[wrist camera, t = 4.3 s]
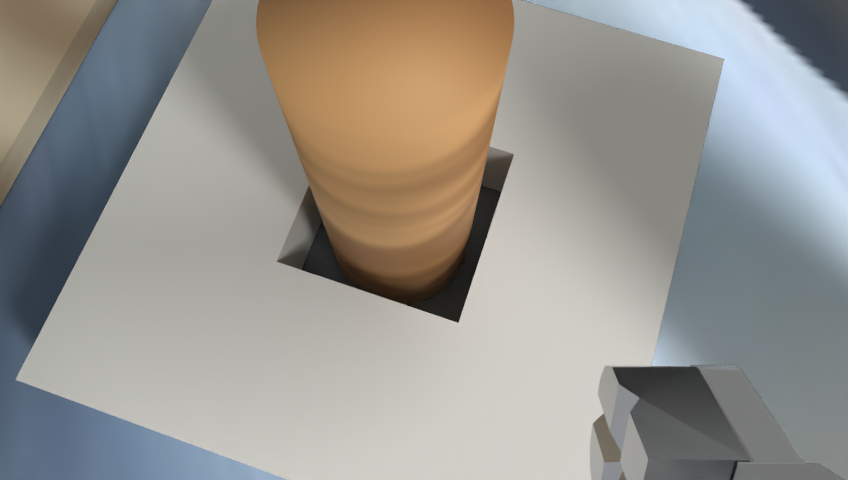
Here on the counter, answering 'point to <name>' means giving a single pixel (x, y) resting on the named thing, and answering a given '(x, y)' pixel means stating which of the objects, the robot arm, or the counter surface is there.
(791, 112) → the counter surface
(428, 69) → the plug
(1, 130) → the board
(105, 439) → the counter surface
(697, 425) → the robot arm
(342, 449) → the socket block
